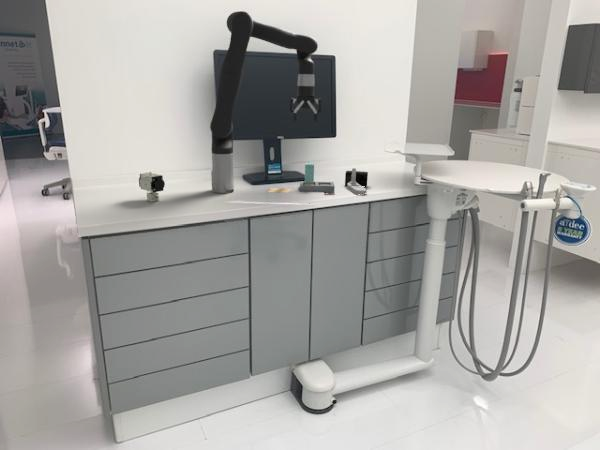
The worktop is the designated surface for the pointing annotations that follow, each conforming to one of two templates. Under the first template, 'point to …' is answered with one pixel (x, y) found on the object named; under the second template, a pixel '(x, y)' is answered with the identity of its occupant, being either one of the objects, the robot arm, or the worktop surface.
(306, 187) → the port block
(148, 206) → the worktop surface
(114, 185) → the worktop surface
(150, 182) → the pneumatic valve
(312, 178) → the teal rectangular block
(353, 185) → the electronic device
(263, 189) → the worktop surface
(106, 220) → the worktop surface
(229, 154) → the robot arm
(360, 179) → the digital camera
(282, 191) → the deck
